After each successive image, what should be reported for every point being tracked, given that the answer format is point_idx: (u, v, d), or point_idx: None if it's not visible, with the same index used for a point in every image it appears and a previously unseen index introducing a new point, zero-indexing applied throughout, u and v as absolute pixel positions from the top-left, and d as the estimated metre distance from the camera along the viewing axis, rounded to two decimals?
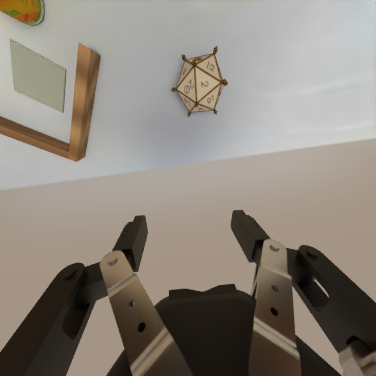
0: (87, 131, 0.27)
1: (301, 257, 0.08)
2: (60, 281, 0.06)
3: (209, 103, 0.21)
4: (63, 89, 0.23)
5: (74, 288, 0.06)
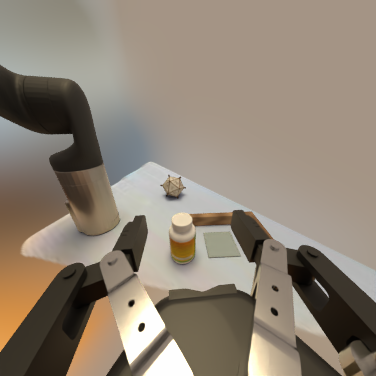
0: None
1: (301, 257, 0.08)
2: (60, 281, 0.06)
3: None
4: (215, 232, 0.35)
5: (74, 288, 0.06)
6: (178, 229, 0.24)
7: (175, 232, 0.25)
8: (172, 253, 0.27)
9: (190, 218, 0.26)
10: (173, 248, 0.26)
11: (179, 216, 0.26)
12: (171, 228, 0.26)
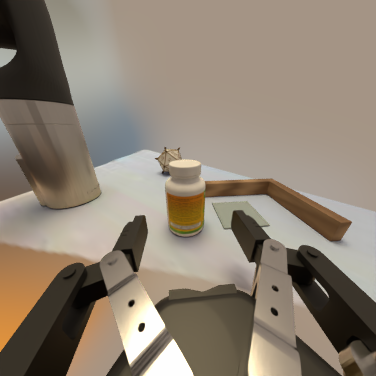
0: None
1: (301, 257, 0.08)
2: (60, 281, 0.06)
3: None
4: (227, 202, 0.26)
5: (74, 288, 0.06)
6: (180, 174, 0.15)
7: (175, 182, 0.16)
8: (170, 221, 0.18)
9: (197, 162, 0.17)
10: (173, 211, 0.17)
11: (180, 161, 0.17)
12: (168, 180, 0.17)
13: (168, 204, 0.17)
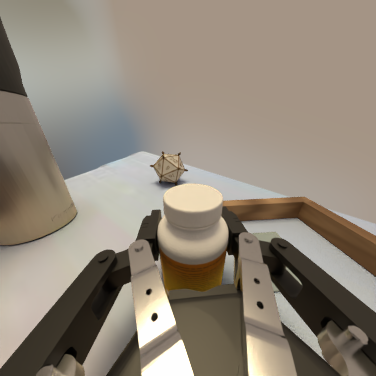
0: None
1: (274, 250, 0.08)
2: (95, 263, 0.07)
3: None
4: None
5: (105, 274, 0.07)
6: (184, 223, 0.08)
7: (174, 233, 0.08)
8: (167, 289, 0.11)
9: (216, 193, 0.09)
10: (171, 280, 0.09)
11: (185, 190, 0.10)
12: (163, 223, 0.10)
13: (162, 265, 0.10)
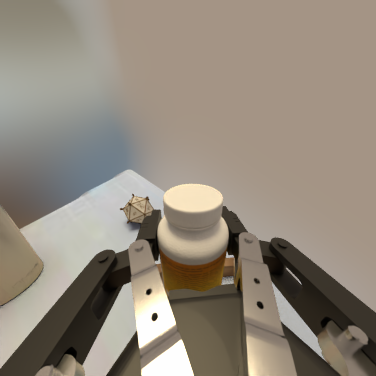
0: None
1: (274, 250, 0.08)
2: (95, 263, 0.07)
3: None
4: None
5: (105, 274, 0.07)
6: (184, 223, 0.08)
7: (174, 233, 0.08)
8: (167, 289, 0.11)
9: (216, 193, 0.09)
10: (170, 280, 0.09)
11: (185, 190, 0.10)
12: (163, 223, 0.10)
13: (162, 265, 0.10)
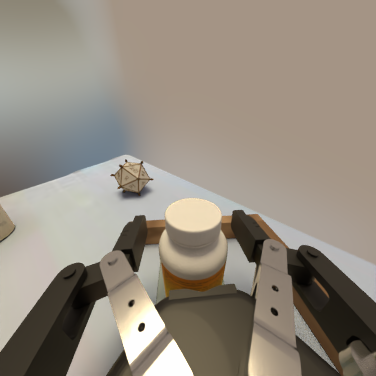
0: None
1: (301, 257, 0.08)
2: (60, 281, 0.06)
3: None
4: None
5: (74, 288, 0.06)
6: (185, 241, 0.08)
7: (176, 249, 0.09)
8: None
9: (215, 210, 0.10)
10: None
11: (185, 206, 0.10)
12: (165, 237, 0.10)
13: (164, 278, 0.10)
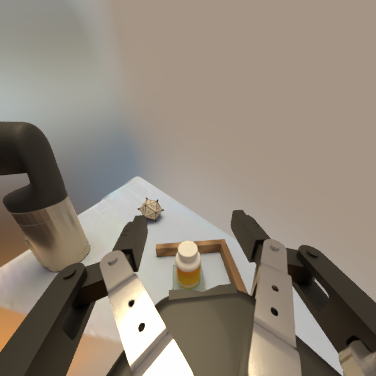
0: None
1: (301, 257, 0.08)
2: (60, 281, 0.06)
3: None
4: None
5: (75, 288, 0.06)
6: (185, 259, 0.25)
7: (181, 261, 0.26)
8: (178, 280, 0.28)
9: (195, 247, 0.27)
10: (180, 277, 0.27)
11: (185, 245, 0.27)
12: (177, 256, 0.27)
13: (177, 271, 0.27)
